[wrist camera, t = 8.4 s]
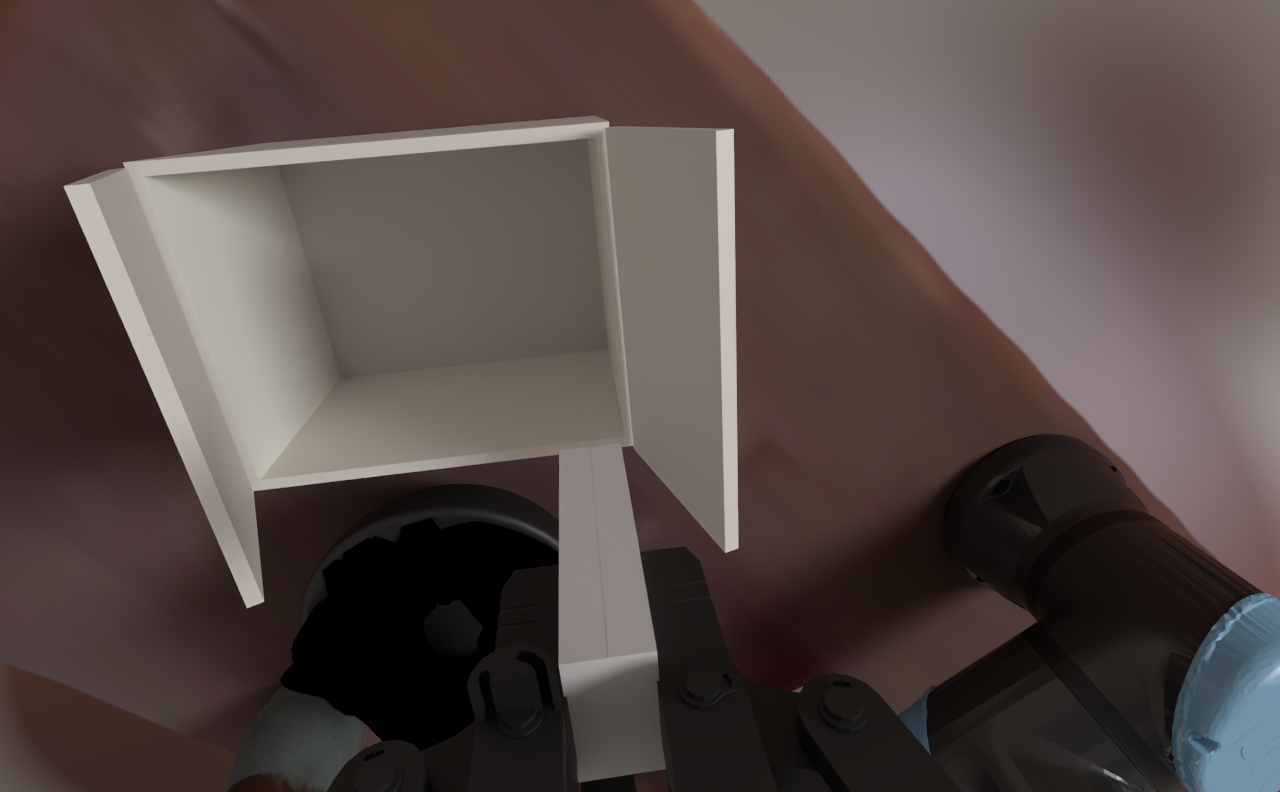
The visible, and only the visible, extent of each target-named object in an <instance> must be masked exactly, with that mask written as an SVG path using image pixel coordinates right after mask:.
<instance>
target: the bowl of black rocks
mask: <svg viewBox="0 0 1280 792" xmlns="http://www.w3.org/2000/svg"><path fill="white" fill-rule="evenodd" d="M558 564H559V521H558V520H557V519H556V518H555V517H554V516H552V515H551V514H550V513H549V512H547V511H546V510H545V509H543V508H542V507H540V506H539V505H537V504H535V503H533V502H532V501H530V500H528V499H526V498H524V497H522V496H519V495H517V494H514V493H512V492H509V491H506V490H503V489H499V488H495V487H490V486H484V485H475V484H451V485H441V486H435V487H430V488H425V489H421V490H418V491H414V492H412V493H409V494H406V495H403V496H401V497H399V498H396V499H394V500H392V501H390V502H388V503H386V504H384V505H382V506H381V507H379V508H377V509H376V510H374V511H372V512H371V513H369V514H368V515H366V516H365V517H364V518H362V519H361V520H360V521H358V522H357V523H356V524H355V525H353V526H352V527H351V528H350V529H349V530H348V531H347V532H346V533H345V534H343V535H342V536H341V537H340V538H339V539H338V540H337V542H336V543H335V544H334V545H333V546H332V547H331V549H330V550H329V551H328V552H327V553H326V555H325V556H324V557H323V559H322V560H321V562H320V563H319V565H318V566H317V568H316V569H315V571H314V572H313V574H312V576H311V578H310V580H309V582H308V584H307V587H306V590H305V593H304V596H303V602H302V607H301V621H300V623H301V629H300V631H299V632H298V634H297V636H296V638H295V640H294V642H293V646H292V649H291V652H292V659H293V661H294V663H293V664H292V665H291V666H290V667H289V668H288V670H287V671H286V672H285V673H284V674H283V675H282V677H281V679H280V680H281V682H282V685H283V686H284V687H285V688H287V689H289V690H292V691H295V692H299V693H301V694H308V695H310V696H317V697H320V698H323V699H324V700H326V701H327V702H328V703H329V704H330V705H331V706H332V707H333V708H334V709H335V710H339V711H340V712H341V713H342V714H343V715H346V716H355V717H356V718H358V719H359V720H361V721H362V722H363V723H364V724H366V725H367V726H368V727H370V729H371V730H372V731H373V732H374V733H375V734H376V735H377V736H378V737H379V738H380V739H381V740H382V741H390V740H402V741H406V742H409V743H412V744H414V745H415V746H416V747H417V748H418V749H419V750H420V751H422V750H425V749H427V748H429V747H431V746H434V745H436V744H438V743H440V742H443V741H445V740H447V739H449V738H451V737H453V736H455V735H456V734H458V733H460V732H462V731H463V730H464V729H465V728H466V727H468V726H469V725H470V724H471V723H472V722H473V721H474V720H475V716H474V712H473V708H472V704H471V700H470V696H469V693H468V689H467V682H468V680H469V677H470V674H471V672H472V670H473V669H474V668H475V667H476V666H477V664H478V663H479V662H480V661H481V660H482V659H483V658H484V657H486V656H487V655H489V654H491V653H492V652H494V651H495V643H496V635H497V630H498V618H499V613H500V602H501V593H502V588H503V587H504V585H505V584H506V582H507V581H508V579H509V578H510V576H511V575H512V573H513V572H514V570H520V569H528V568H535V567H543V566H551V565H558Z"/></svg>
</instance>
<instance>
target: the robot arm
mask: <svg viewBox="0 0 1280 792" xmlns="http://www.w3.org/2000/svg"><path fill="white" fill-rule="evenodd" d="M944 539H945V543H946V546H947V549H948V551H949V553H950V554H951V556H952V557H953V558H954V559H955V561H956V562H957V563H958V564H959V565H960V566H961V568H962V569H963V570H964V571H965V572H966V573H967V574H968V575H969V576H970V577H971V578H972V579H973V580H975V581H976V582H978V583H979V584H981V585H983V586H984V587H986V588H988V589H991V590H994V591H996V592H997V593H999V594H1000V595H1001V596H1003V597H1004V598H1006V599H1008V600H1009V601H1011V602H1013V603H1014V604H1016V605H1018V606H1020V607H1022V608H1023V609H1025V610H1027V611H1029V612H1030V613H1031V614H1032V615H1033V617H1034V618H1035V619H1036V620H1037V621H1038V622H1036V623H1035V624H1033V625H1032V626H1030V627H1029V628H1027V629H1026V630H1024V631H1023V632H1021V633H1019V634H1018V635H1016V636H1014V637H1013V638H1011V639H1010V640H1008V641H1007V642H1005V643H1004V644H1002V645H1000V646H999V647H997V648H996V649H994V650H993V651H991V652H990V653H988V654H986V655H985V656H983V657H982V658H980V659H979V660H977V661H976V662H974V663H972V664H971V665H969V666H968V667H966V668H965V669H963V670H962V671H960V672H958V673H957V674H955V675H954V676H952V677H951V678H949V679H948V680H946V681H944V682H943V683H941V684H940V685H938V686H932V687H931V688H929V689H928V690H927V691H926V692H925V693H924V695H923V697H922V698H921V699H919V700H918V701H916V702H915V703H914V704H912V705H911V706H910V707H908V708H907V709H906V710H904V711H903V712H901V713H900V714H899V715H898V716H897V715H896V713H895V712H894V711H893V710H892V709H891V708H890V706H889V705H888V704H887V703H886V702H885V701H884V699H883V698H882V697H881V696H880V695H879V694H878V693H877V692H876V691H875V690H873V689H872V688H871V687H870V686H869V685H868V684H866V683H865V682H862V681H860V680H858V679H856V678H853V677H851V676H848V675H840V674H833V673H832V674H827V675H821V676H817V677H815V678H813V679H812V680H810V681H809V682H807V683H806V684H805V685H804V686H803V688H802V690H801V692H800V693H798V692H791V691H784V690H777V689H772V688H768V687H764V686H761V685H758V684H756V683H754V682H752V681H750V680H748V679H747V678H746V677H744V676H743V675H742V674H740V673H739V671H738V670H737V669H736V668H735V667H734V665H733V664H732V662H731V660H730V658H729V656H728V653H727V649H726V646H725V643H724V639H723V636H722V633H721V629H720V626H719V623H718V619H717V616H716V613H715V610H714V606H713V603H712V600H711V598H710V593H709V590H708V586H707V584H706V580H705V577H704V573H703V570H702V567H701V563H700V561H699V560H698V559H697V558H696V557H695V556H694V555H693V554H692V553H691V552H690V551H689V550H688V549H687V548H686V547H677V548H669V549H662V550H654V551H646V552H640V551H639V545H638V539H637V534H636V528H635V522H634V517H633V511H632V505H631V500H630V494H629V488H628V482H627V477H626V471H625V465H624V460H623V454H622V448H621V443H618V444H610V445H601V446H593V447H584V448H575V449H567V450H559V564H558V565H551V566H543V567H535V568H528V569H520V570H514V572H513V573H512V575H511V576H510V578H509V579H508V581H507V582H506V584H505V585H504V587H503V588H502V593H501V602H500V613H499V618H498V630H497V635H496V643H495V651H494V652H492V653H491V654H489V655H487V656H486V657H484V658H483V659H482V660H481V661H480V662H479V663H478V664H477V666H476V667H475V668H474V669H473V670H472V672H471V674H470V677H469V680H468V682H467V689H468V693H469V696H470V700H471V704H472V708H473V712H474V716H475V720H474V721H473V722H472V723H471V724H470V725H469V726H468V727H466V728H465V729H464V730H463V731H462V732H460V733H458V734H456V735H455V736H453V737H451V738H449V739H447V740H445V741H443V742H440V743H438V744H436V745H434V746H431V747H429V748H427V749H425V750H422V751H420V750H419V749H418V748H417V747H416V746H415V745H414V744H412V743H409V742H406V741H402V740H390V741H381V742H379V743H377V744H374V745H372V746H370V747H367V748H365V749H363V750H362V751H361V752H359V753H358V754H357V755H355V756H354V757H353V758H352V759H350V760H349V761H348V762H347V763H346V764H345V765H344V766H343V768H342V769H341V770H340V772H339V773H338V774H337V776H336V777H335V778H334V780H333V781H332V783H331V785H330V787H329V788H328V790H327V792H578V782H586V781H592V780H599V779H605V778H612V777H618V776H625V775H631V774H637V773H644V772H650V771H657V770H663V769H666V772H667V779H668V788H669V792H1175V791H1177V790H1179V789H1181V788H1182V787H1184V786H1185V787H1186V788H1187V789H1188V790H1189V791H1190V792H1277V791H1279V790H1280V600H1278V599H1276V598H1275V597H1273V596H1271V595H1269V594H1265V593H1264V592H1262V591H1261V590H1259V589H1258V588H1256V587H1255V586H1253V585H1252V584H1251V583H1249V582H1248V581H1246V580H1245V579H1243V578H1242V577H1240V576H1239V575H1238V574H1236V573H1234V572H1233V571H1232V570H1230V569H1229V568H1227V567H1226V566H1225V565H1223V564H1222V563H1220V562H1219V561H1217V560H1216V559H1214V558H1213V557H1212V556H1210V555H1209V554H1207V553H1206V552H1204V551H1203V550H1201V549H1200V548H1198V547H1197V546H1196V545H1194V544H1193V543H1191V542H1190V541H1188V540H1187V539H1185V538H1184V537H1183V536H1181V535H1180V534H1178V533H1177V532H1175V531H1174V530H1172V529H1171V528H1170V527H1168V526H1167V525H1165V524H1164V523H1162V522H1161V521H1160V520H1158V519H1157V518H1155V517H1154V516H1152V515H1151V514H1150V513H1149V512H1148V511H1147V509H1146V508H1145V506H1144V505H1143V503H1142V502H1141V501H1140V499H1139V498H1138V497H1137V495H1136V494H1135V493H1134V492H1133V491H1132V490H1131V489H1130V488H1129V487H1128V486H1127V485H1126V482H1125V480H1124V478H1123V476H1122V474H1121V472H1120V471H1119V469H1118V468H1117V467H1116V465H1115V464H1114V463H1113V462H1112V461H1111V460H1110V459H1108V458H1107V457H1106V456H1105V455H1103V454H1102V453H1100V452H1099V451H1097V450H1096V449H1094V448H1093V447H1091V446H1090V445H1088V444H1086V443H1085V442H1083V441H1081V440H1079V439H1076V438H1073V437H1069V436H1064V435H1040V436H1034V437H1029V438H1026V439H1022V440H1019V441H1017V442H1014V443H1012V444H1009V445H1007V446H1005V447H1003V448H1001V449H999V450H998V451H996V452H994V453H993V454H991V455H990V456H988V457H987V458H986V459H984V460H983V461H982V462H980V463H979V464H978V465H977V466H976V467H975V468H974V469H973V470H972V471H971V472H970V473H969V474H968V475H967V476H966V477H965V478H964V480H963V481H962V482H961V483H960V485H959V486H958V488H957V489H956V491H955V493H954V494H953V496H952V498H951V500H950V502H949V505H948V508H947V511H946V514H945V519H944ZM1027 641H1028V642H1027ZM577 776H578V779H577ZM1145 778H1146V779H1145ZM1150 784H1151V785H1150Z"/></svg>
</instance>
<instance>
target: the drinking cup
mask: <svg viewBox="0 0 1280 792" xmlns="http://www.w3.org/2000/svg"><path fill="white" fill-rule="evenodd" d="M581 792H637V791H636V786H635V781H634V776H633V774H631V775H625V776H618V777H612V778H605V779H599V780H592V781H586V782H581Z"/></svg>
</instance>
